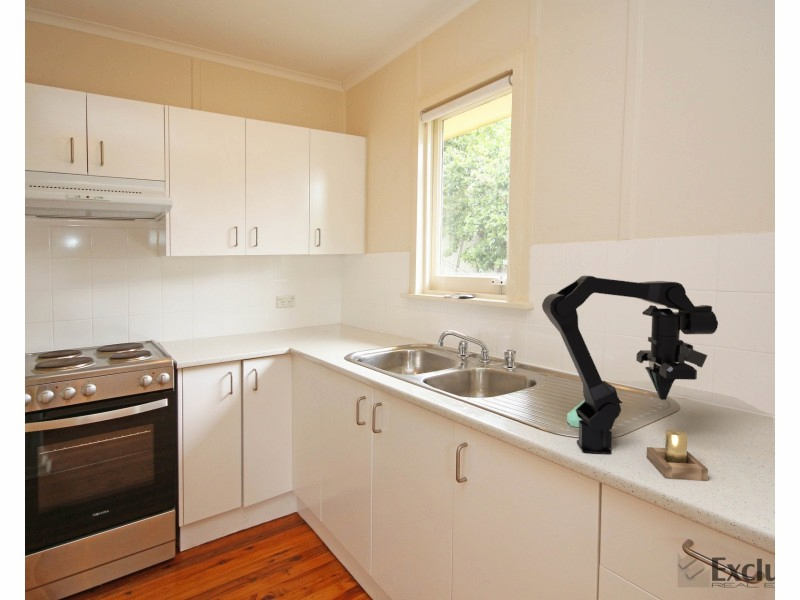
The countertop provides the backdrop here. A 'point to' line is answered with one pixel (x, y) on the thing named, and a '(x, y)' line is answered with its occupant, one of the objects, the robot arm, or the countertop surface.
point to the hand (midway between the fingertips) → (662, 399)
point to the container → (574, 416)
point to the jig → (677, 466)
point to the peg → (675, 446)
